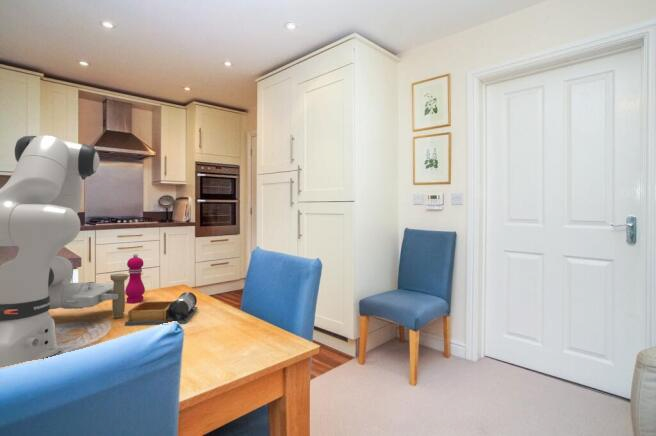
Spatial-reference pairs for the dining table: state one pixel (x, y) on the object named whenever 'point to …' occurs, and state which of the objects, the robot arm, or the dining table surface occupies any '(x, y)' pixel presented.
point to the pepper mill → (135, 280)
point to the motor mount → (163, 311)
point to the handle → (118, 287)
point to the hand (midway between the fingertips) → (121, 294)
